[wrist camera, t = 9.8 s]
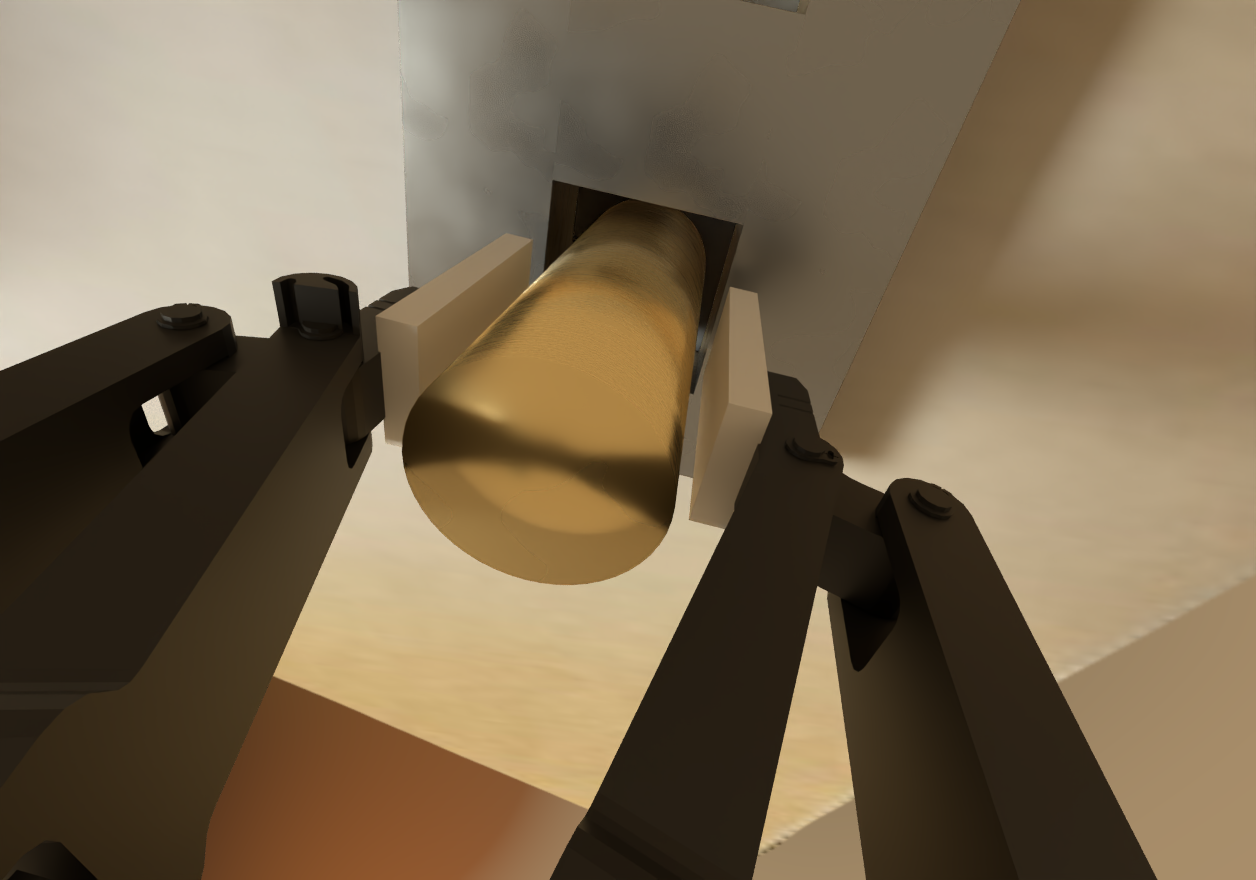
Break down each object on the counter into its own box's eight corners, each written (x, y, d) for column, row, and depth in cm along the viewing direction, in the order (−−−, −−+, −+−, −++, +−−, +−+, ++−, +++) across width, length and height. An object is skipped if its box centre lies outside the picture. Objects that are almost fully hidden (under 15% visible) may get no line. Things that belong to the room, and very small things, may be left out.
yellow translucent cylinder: (575, 308, 21) (407, 549, 10) (593, 184, 18) (394, 324, 7) (688, 335, 21) (643, 609, 10) (720, 214, 18) (710, 401, 7)
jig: (454, 367, 23) (414, 408, 20) (462, -629, 11) (360, -900, 8) (780, 448, 22) (787, 501, 20) (1179, -493, 10) (1358, -725, 7)
